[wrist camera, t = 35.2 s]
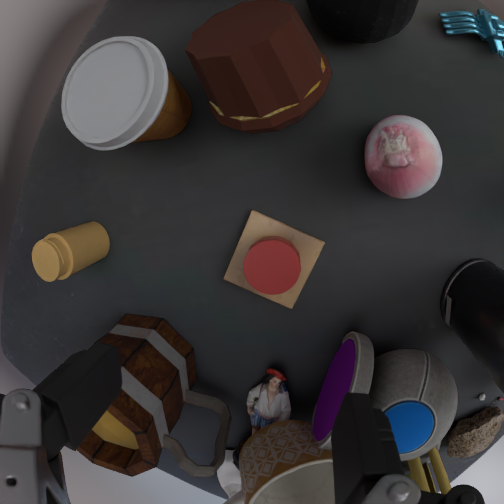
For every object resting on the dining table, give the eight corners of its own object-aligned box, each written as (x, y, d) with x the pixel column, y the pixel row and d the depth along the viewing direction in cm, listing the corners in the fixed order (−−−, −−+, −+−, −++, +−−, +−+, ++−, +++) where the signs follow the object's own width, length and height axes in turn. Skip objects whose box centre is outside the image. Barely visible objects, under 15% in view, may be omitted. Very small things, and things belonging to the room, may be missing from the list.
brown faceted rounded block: (147, 80, 21) (207, 149, 29) (279, 68, 16) (317, 163, 24) (214, 0, 23) (252, 68, 31) (325, -15, 18) (349, 70, 26)
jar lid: (235, 256, 33) (231, 262, 31) (278, 224, 32) (277, 228, 30) (268, 297, 34) (266, 305, 32) (310, 267, 32) (311, 274, 30)
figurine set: (479, 392, 34) (483, 394, 33) (507, 395, 34) (511, 397, 33) (476, 400, 34) (480, 402, 33) (504, 403, 34) (508, 405, 33)
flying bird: (449, 56, 24) (466, 49, 21) (431, 5, 23) (445, -7, 19) (529, 66, 22) (547, 63, 19) (514, 21, 20) (530, 14, 17)
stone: (460, 431, 31) (513, 416, 29) (452, 409, 36) (503, 396, 33) (443, 467, 33) (493, 453, 31) (438, 446, 38) (486, 434, 36)
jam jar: (112, 226, 35) (63, 245, 26) (107, 265, 36) (61, 292, 27) (80, 216, 35) (30, 231, 26) (77, 254, 36) (29, 276, 27)
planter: (318, 480, 34) (349, 527, 24) (227, 488, 32) (240, 544, 22) (337, 407, 35) (380, 449, 24) (235, 411, 32) (253, 466, 22)
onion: (366, 109, 28) (385, 94, 21) (433, 134, 28) (465, 127, 21) (349, 184, 30) (365, 188, 23) (417, 205, 30) (446, 215, 23)
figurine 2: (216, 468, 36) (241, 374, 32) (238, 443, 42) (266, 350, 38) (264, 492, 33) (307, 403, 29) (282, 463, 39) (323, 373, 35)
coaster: (324, 241, 32) (325, 242, 31) (291, 307, 34) (291, 309, 34) (252, 209, 32) (252, 210, 32) (224, 277, 34) (223, 279, 34)
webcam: (308, 412, 36) (407, 432, 34) (311, 473, 24) (437, 486, 22) (346, 320, 36) (447, 348, 34) (369, 353, 23) (498, 383, 21)
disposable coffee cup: (112, 111, 31) (42, 94, 20) (174, 54, 29) (122, 10, 17) (155, 172, 32) (91, 176, 21) (225, 114, 30) (186, 85, 18)
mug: (101, 368, 40) (44, 431, 26) (115, 294, 37) (39, 352, 22) (223, 428, 40) (197, 511, 26) (261, 362, 36) (241, 458, 22)
